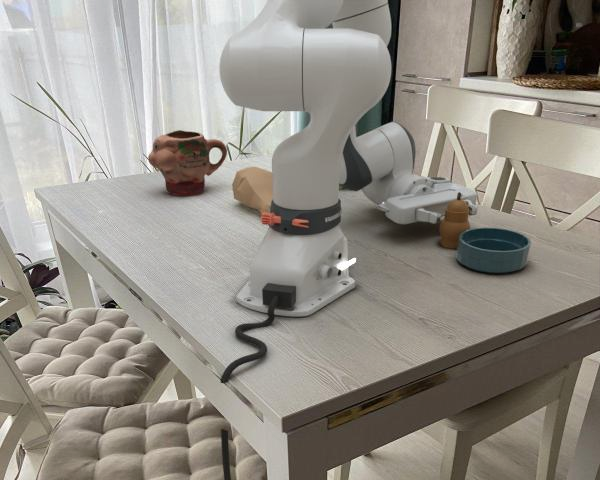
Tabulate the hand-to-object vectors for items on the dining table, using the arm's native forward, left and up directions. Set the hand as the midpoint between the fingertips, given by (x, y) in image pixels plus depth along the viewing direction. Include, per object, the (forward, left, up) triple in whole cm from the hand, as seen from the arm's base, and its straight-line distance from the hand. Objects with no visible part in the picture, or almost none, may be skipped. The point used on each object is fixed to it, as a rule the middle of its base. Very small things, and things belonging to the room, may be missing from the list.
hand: (456, 215), depth 121 cm
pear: (0, 0, -6) cm, 6 cm away
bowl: (-6, -9, -6) cm, 12 cm away
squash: (+4, +47, -6) cm, 47 cm away
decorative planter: (+11, +72, -6) cm, 73 cm away
